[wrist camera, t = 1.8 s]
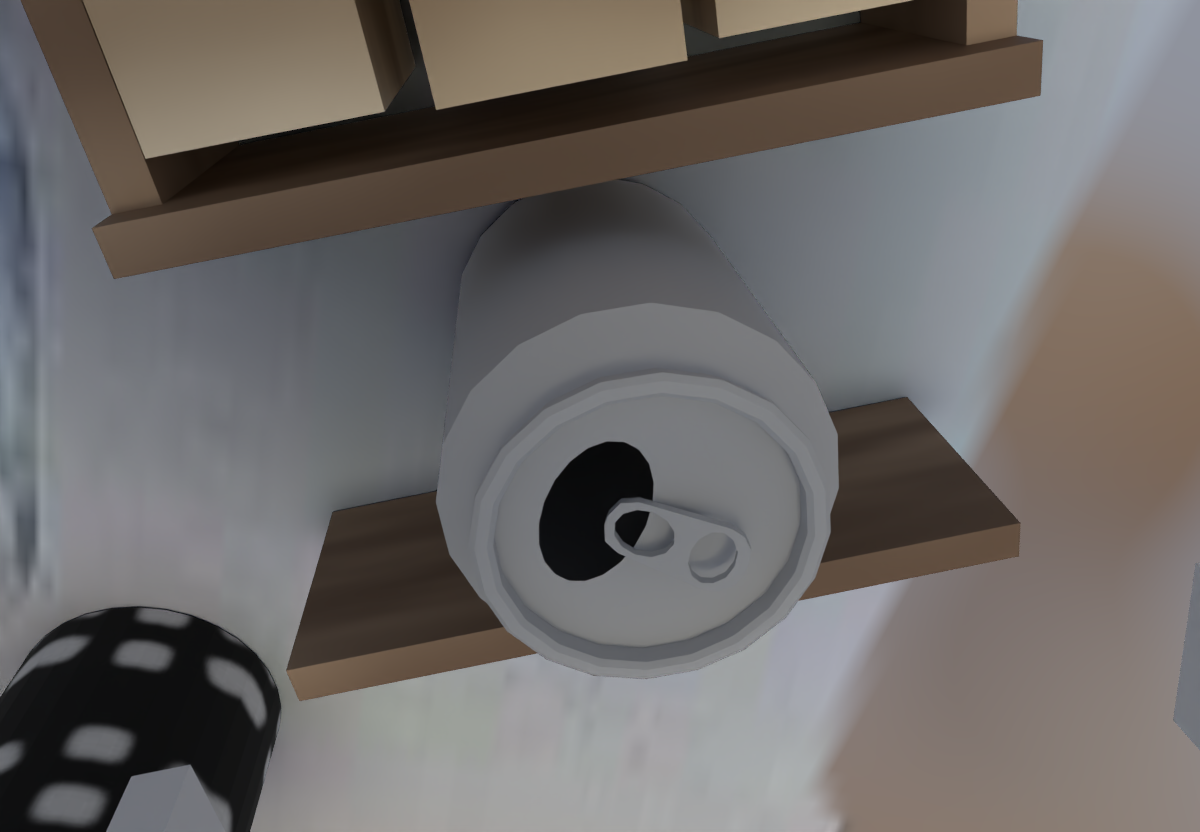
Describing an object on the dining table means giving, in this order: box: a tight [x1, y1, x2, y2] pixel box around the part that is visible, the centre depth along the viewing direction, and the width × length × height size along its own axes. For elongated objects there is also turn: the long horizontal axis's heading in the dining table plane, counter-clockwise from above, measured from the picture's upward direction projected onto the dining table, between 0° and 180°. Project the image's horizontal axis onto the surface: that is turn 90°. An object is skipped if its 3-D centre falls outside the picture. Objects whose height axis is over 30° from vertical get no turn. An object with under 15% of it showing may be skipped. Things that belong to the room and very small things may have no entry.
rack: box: [21, 0, 1043, 701], centre depth 21 cm, size 20×18×7 cm
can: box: [436, 180, 839, 679], centre depth 21 cm, size 8×8×12 cm
